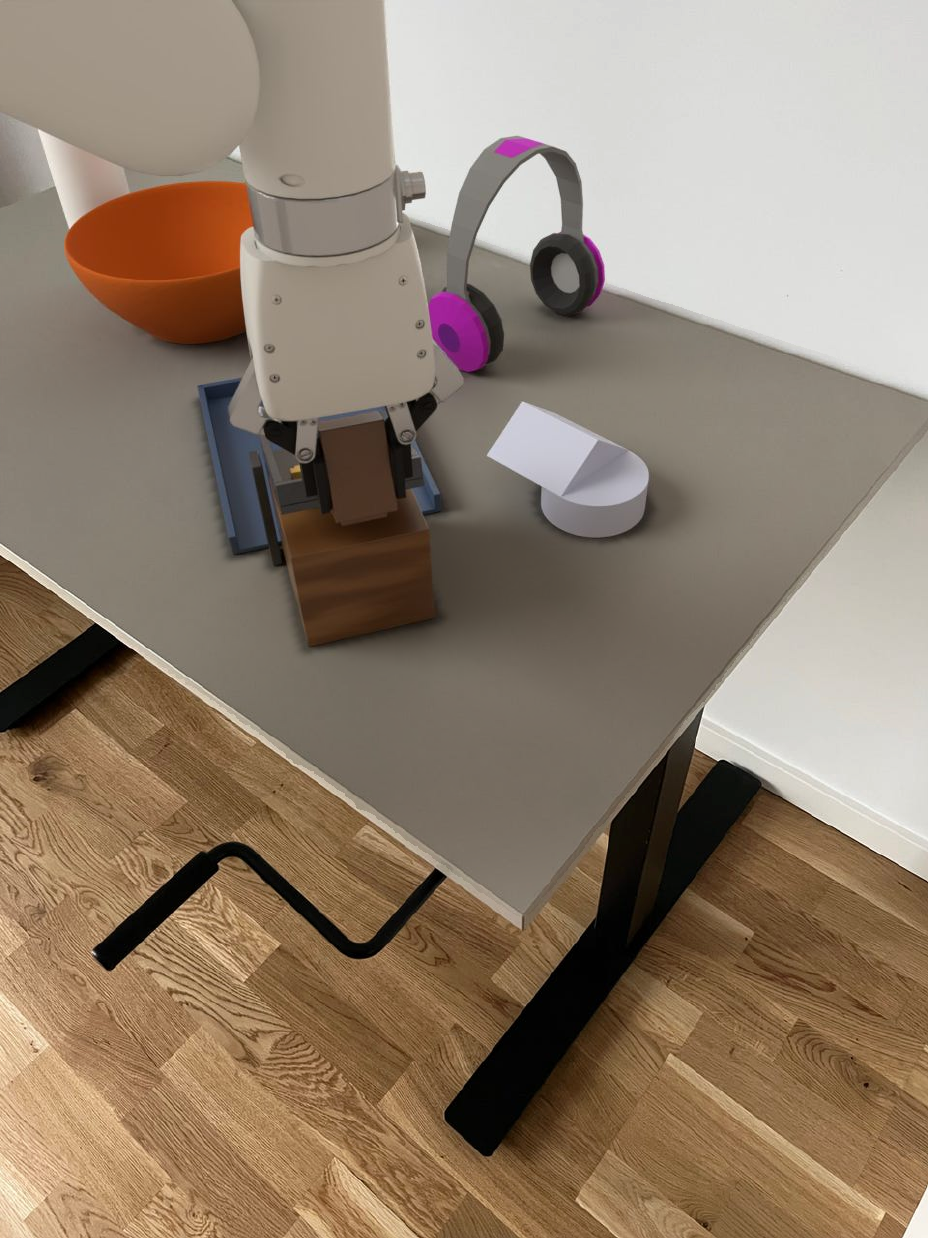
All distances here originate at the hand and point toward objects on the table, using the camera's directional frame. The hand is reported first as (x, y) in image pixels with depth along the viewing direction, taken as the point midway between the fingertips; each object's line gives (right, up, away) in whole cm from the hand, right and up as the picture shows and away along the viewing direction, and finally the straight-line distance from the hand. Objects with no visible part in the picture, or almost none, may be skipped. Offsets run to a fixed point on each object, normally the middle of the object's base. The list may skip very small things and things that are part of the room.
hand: (359, 491), depth 63 cm
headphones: (+12, +22, +44) cm, 51 cm away
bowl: (-23, +27, +49) cm, 61 cm away
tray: (-7, +7, +29) cm, 31 cm away
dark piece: (-2, +1, +7) cm, 7 cm away
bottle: (-37, +37, +60) cm, 80 cm away
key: (-2, +3, +8) cm, 9 cm away
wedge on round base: (+17, +3, +24) cm, 29 cm away
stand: (-2, -5, +17) cm, 18 cm away
